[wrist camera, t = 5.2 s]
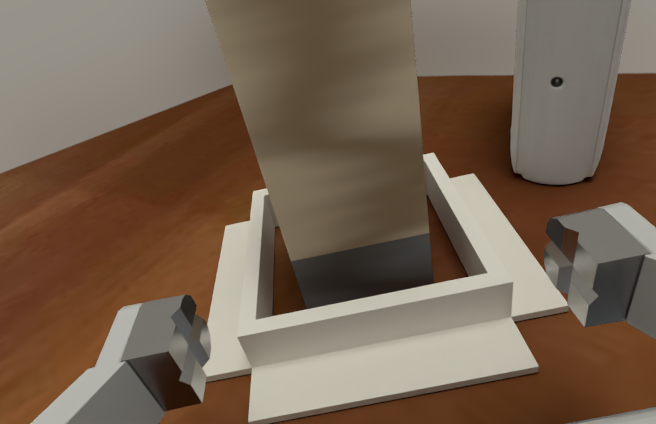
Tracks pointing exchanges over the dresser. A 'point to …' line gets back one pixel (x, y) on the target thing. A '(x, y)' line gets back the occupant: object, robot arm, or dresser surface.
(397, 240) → the block
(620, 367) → the dresser surface
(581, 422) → the slate mat
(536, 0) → the photo printer
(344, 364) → the flanged square frame
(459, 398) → the dresser surface
